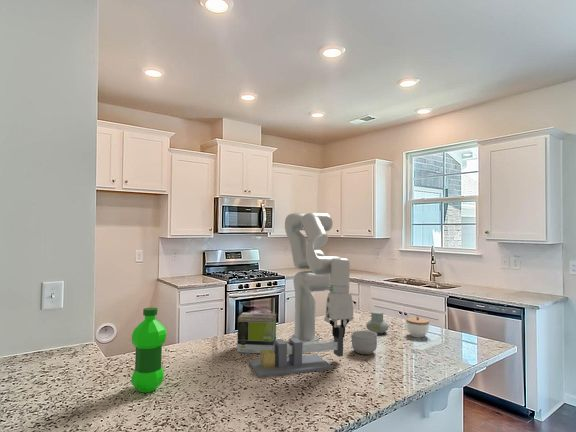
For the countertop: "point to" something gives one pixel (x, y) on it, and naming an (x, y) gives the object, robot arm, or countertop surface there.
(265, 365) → the block
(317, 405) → the countertop surface
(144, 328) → the plastic bottle
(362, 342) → the teacup
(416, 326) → the lidded jar
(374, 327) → the air freshener
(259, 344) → the tea box
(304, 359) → the bracket
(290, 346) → the shaft
